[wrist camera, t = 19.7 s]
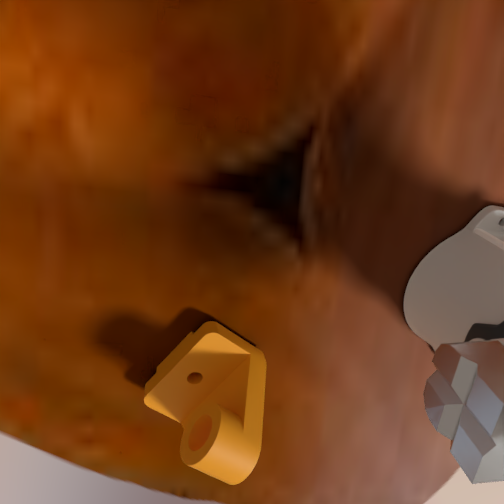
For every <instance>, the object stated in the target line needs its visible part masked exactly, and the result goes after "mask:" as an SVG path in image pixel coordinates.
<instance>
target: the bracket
mask: <svg viewBox="0 0 504 504" xmlns="http://www.w3.org/2000/svg"><path fill="white" fill-rule="evenodd" d="M266 365H267V364H266V361H265V357H264V354H263V352H262V351H260V350H259V349H257V348H256V347H254V346H253V345H251V344H250V343H248V342H246V341H245V340H243V339H242V338H240V337H239V336H237V335H236V334H234V333H232V332H231V331H229V330H228V329H226V328H225V327H223V326H222V325H220V324H219V323H217V322H214V321H208V322H206V323H204V324H203V325H202V326H201V327H200V328H199V329H198V330H197V331H196V332H193V331H191V332H190V333H189V334H188V335H187V336H186V337H185V338H184V339H183V340H182V341H181V342H180V344H179V345H178V346H177V347H176V348H175V349H174V350H173V351H172V352H171V353H170V354H169V355H168V356H167V357H166V358H165V359H164V360H163V361H162V362H161V363H160V364H159V365H158V366H157V372H156V374H155V375H154V376H153V377H152V378H151V379H150V380H149V381H148V382H147V383H146V384H145V393H144V403H145V404H146V405H147V406H148V407H150V408H152V409H154V410H156V411H158V412H160V413H162V414H164V415H166V416H168V417H170V418H172V419H174V420H176V421H178V422H180V423H181V425H182V427H183V429H184V432H183V435H182V439H181V444H180V456H181V459H182V461H183V463H184V464H186V465H188V466H190V467H193V468H195V469H197V470H199V471H201V472H204V473H206V474H208V475H210V476H212V477H215V478H217V479H219V480H221V481H223V482H226V483H228V484H231V485H235V484H238V483H240V482H242V481H243V480H244V479H246V478H247V477H248V475H249V474H250V473H251V472H252V470H253V468H254V467H255V465H256V463H257V460H258V458H259V454H260V450H261V442H262V426H263V411H264V396H265V380H266Z"/></svg>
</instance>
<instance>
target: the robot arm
mask: <svg viewBox="0 0 504 504" xmlns="http://www.w3.org/2000/svg"><path fill="white" fill-rule="evenodd" d="M501 219H502V220H501ZM500 220H501V222H499V221H500ZM403 306H404V314H405V318H406V321H407V323H408V325H409V327H410V328H411V330H412V331H413V332H414V333H415V334H416V335H418V336H419V337H420V338H422V339H423V340H425V341H426V342H427V343H429V344H430V345H431V346H432V347H433V349H434V351H435V354H434V357H433V360H432V362H433V363H434V365H435V367H436V369H437V370H436V371H435V372H434V373H433V374H432V375H431V376H430V377H429V378H428V379H427V381H426V385H425V389H424V403H425V409H426V412H427V415H428V417H429V420H430V421H431V423H432V424H433V426H434V427H435V429H436V431H438V432H439V433H441V434H442V435H444V436H445V437H447V438H449V439H450V440H451V447H450V452H451V453H452V455H453V456H454V458H455V459H456V461H457V462H458V464H459V465H460V467H461V468H462V469H463V471H464V472H465V474H466V475H467V477H468V478H469V480H470V481H471V483H472V484H476V483H485V482H496V481H504V207H499V206H494V205H491V206H487V207H485V208H484V209H482V210H481V211H480V212H479V213H478V214H477V215H476V216H475V217H474V218H473V219H472V220H471V221H470V222H469V223H468V225H467V226H466V227H465V228H464V229H462V230H461V231H459V232H458V233H456V234H455V235H453V236H451V237H450V238H448V239H446V240H445V241H443V242H442V243H440V244H439V245H438V246H436V247H435V248H434V249H433V250H432V251H430V252H429V253H428V254H427V255H426V256H425V258H424V259H423V260H422V261H421V262H420V263H419V265H418V266H417V268H416V269H415V271H414V272H413V274H412V276H411V278H410V280H409V282H408V285H407V287H406V291H405V295H404V305H403Z"/></svg>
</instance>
